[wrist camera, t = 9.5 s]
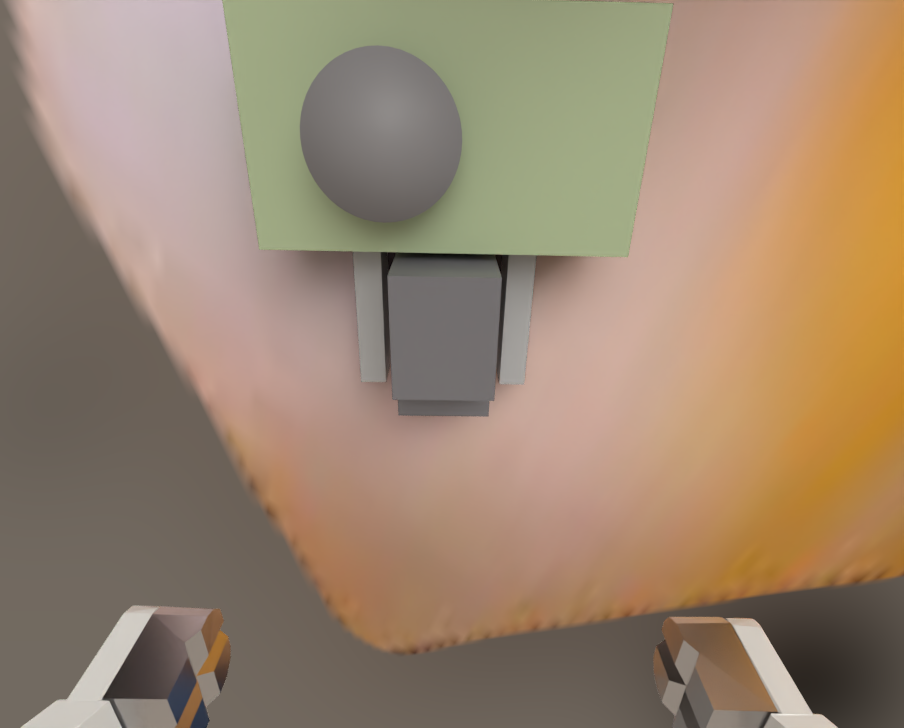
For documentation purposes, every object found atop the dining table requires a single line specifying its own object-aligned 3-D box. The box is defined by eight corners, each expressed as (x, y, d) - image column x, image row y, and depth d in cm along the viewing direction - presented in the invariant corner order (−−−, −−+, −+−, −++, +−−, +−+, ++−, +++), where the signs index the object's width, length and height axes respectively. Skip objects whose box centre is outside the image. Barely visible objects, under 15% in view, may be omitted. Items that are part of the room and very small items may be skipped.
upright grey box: (488, 233, 24) (501, 278, 18) (481, 365, 27) (491, 442, 21) (403, 232, 24) (387, 276, 18) (407, 364, 27) (394, 441, 21)
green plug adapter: (624, 26, 20) (701, -10, 14) (575, 362, 27) (613, 439, 21) (271, 16, 20) (191, -24, 14) (310, 357, 27) (268, 433, 21)
